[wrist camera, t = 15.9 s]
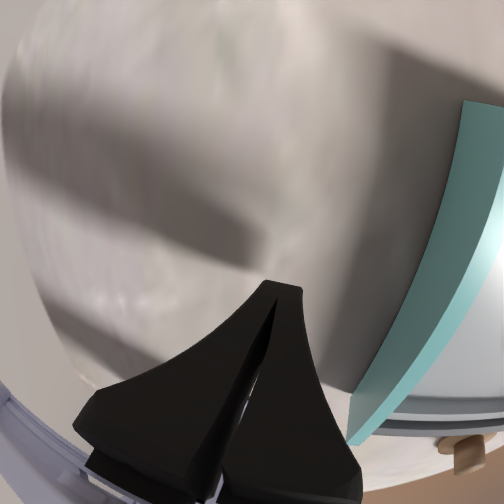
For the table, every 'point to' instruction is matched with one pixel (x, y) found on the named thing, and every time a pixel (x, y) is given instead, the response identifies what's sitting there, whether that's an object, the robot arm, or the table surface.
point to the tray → (449, 301)
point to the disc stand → (466, 451)
